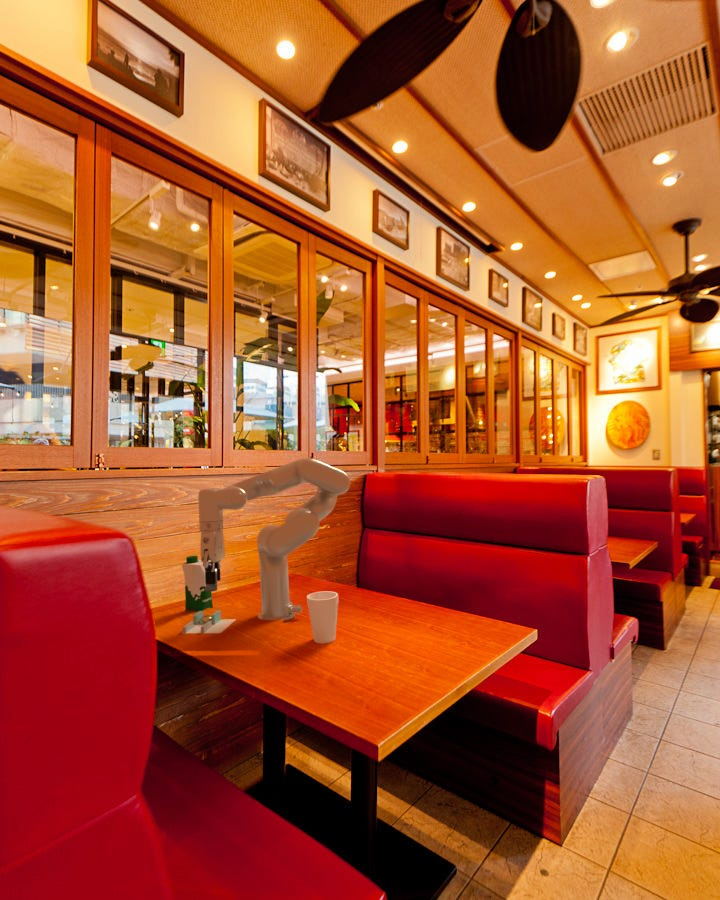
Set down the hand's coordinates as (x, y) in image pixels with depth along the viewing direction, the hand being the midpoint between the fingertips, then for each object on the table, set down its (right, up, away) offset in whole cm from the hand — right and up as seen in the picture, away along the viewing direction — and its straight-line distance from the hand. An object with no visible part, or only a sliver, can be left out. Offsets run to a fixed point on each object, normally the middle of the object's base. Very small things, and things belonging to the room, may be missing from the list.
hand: (213, 581), depth 162 cm
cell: (-1, -3, 0) cm, 3 cm away
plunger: (-3, -14, +3) cm, 14 cm away
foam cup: (+38, -13, -15) cm, 43 cm away
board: (-1, -15, -1) cm, 16 cm away
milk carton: (-11, -17, +21) cm, 29 cm away
